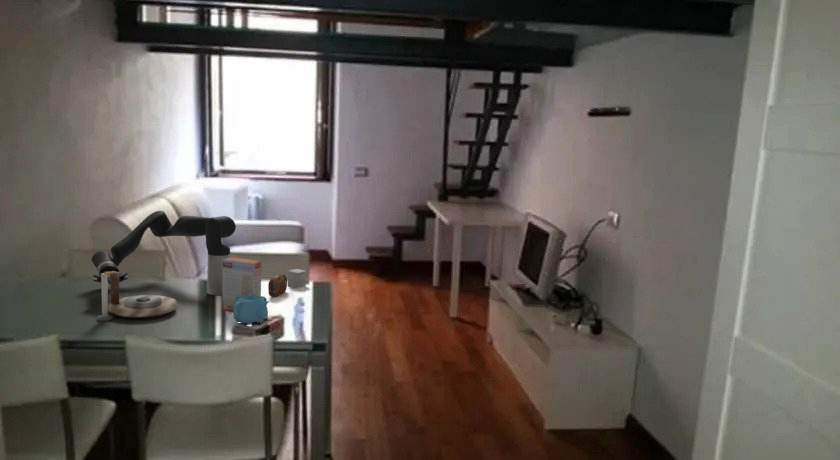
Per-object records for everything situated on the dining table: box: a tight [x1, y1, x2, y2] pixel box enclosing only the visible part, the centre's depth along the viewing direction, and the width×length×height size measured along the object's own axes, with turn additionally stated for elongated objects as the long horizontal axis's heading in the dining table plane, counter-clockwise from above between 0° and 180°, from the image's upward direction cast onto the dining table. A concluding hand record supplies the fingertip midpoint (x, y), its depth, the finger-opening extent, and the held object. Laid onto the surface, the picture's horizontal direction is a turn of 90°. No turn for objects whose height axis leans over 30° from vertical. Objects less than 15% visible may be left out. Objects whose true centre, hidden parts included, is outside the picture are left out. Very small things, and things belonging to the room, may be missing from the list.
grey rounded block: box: [287, 268, 307, 289], centre depth 295 cm, size 6×6×7 cm
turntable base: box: [119, 313, 167, 320], centre depth 244 cm, size 18×18×2 cm
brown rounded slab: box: [267, 274, 288, 298], centre depth 279 cm, size 15×3×8 cm, turn 168°
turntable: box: [108, 271, 178, 317], centre depth 243 cm, size 24×24×14 cm
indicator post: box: [96, 271, 114, 322], centre depth 232 cm, size 6×5×17 cm
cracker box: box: [222, 256, 262, 313], centre depth 251 cm, size 14×6×21 cm, turn 71°
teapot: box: [232, 294, 270, 324], centre depth 239 cm, size 13×14×11 cm
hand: (113, 282), depth 245 cm, fingers closed
